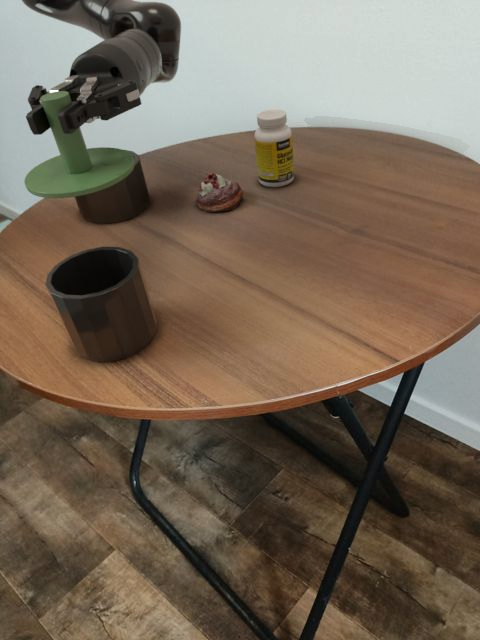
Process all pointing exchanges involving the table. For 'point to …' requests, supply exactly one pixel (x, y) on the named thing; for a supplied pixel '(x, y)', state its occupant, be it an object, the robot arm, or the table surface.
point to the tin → (117, 198)
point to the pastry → (218, 193)
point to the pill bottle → (274, 149)
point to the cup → (103, 303)
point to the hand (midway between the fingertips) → (48, 124)
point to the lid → (75, 160)
